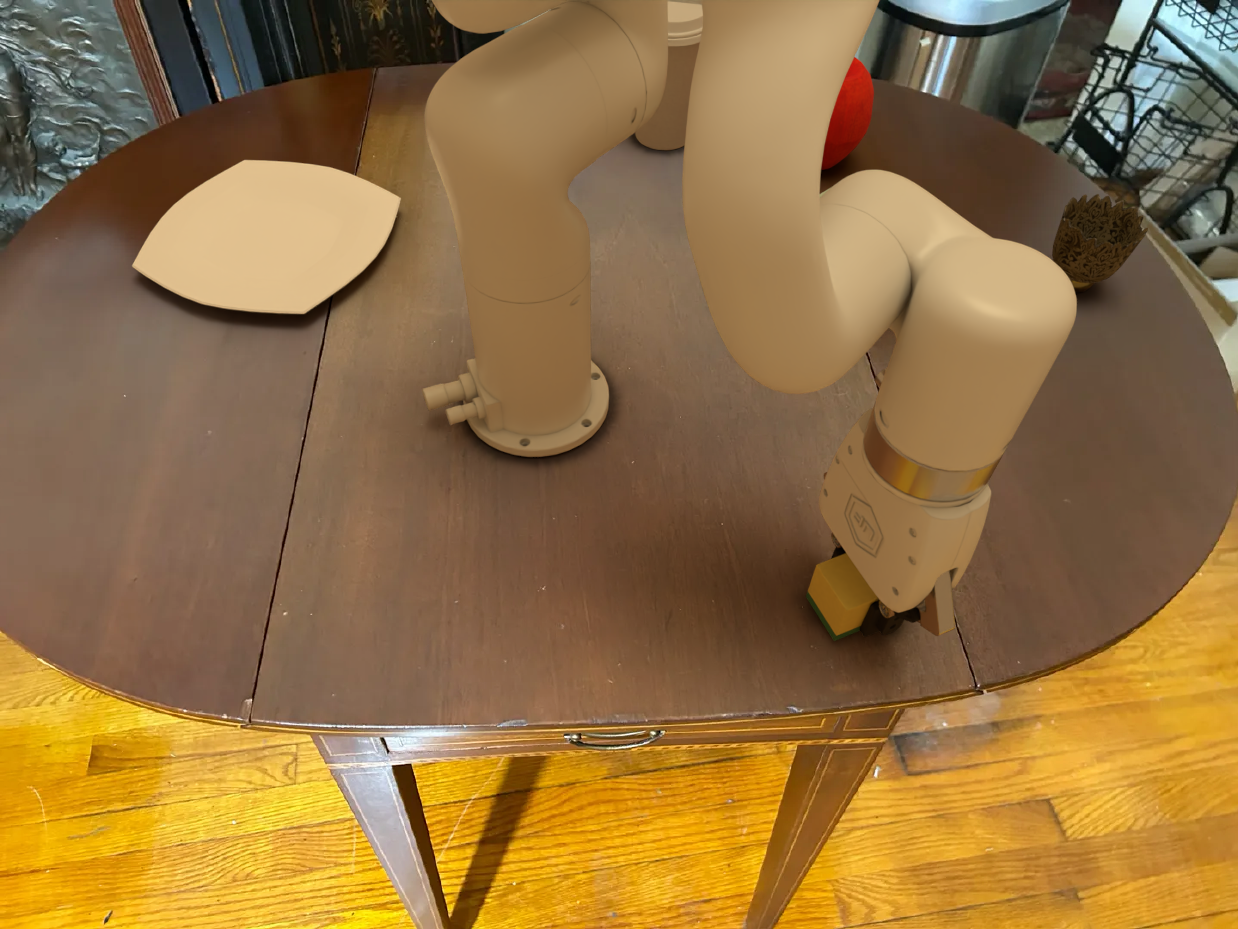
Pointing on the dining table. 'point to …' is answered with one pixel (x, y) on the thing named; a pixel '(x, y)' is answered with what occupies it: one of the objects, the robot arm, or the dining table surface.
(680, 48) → the coffee cup
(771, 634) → the dining table surface
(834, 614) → the sponge
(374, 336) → the dining table surface
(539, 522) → the dining table surface
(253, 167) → the plate
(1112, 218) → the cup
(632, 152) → the dining table surface
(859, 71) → the apple
